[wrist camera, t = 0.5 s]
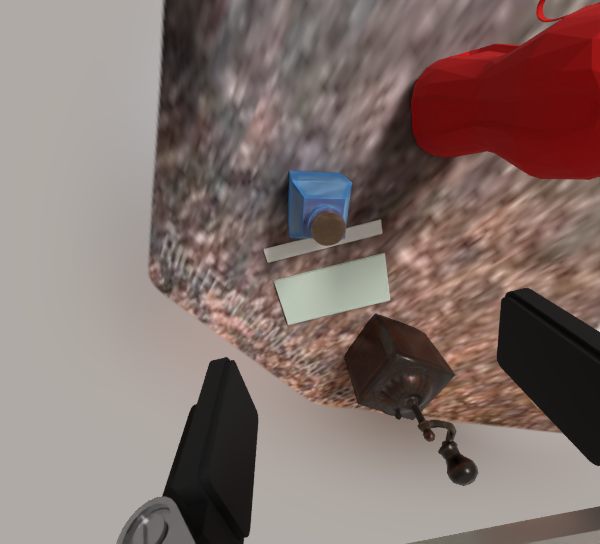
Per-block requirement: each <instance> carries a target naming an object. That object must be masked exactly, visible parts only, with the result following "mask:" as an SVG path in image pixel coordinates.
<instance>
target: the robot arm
mask: <svg viewBox="0 0 600 544" xmlns="http://www.w3.org/2000/svg"><path fill="white" fill-rule="evenodd" d="M497 361H498V363H499V365H500V367H501V368H502V369H503V370H504V371H505V372H506V373H507V374H508V375H509V376H510V377H511V379H512V380H513V381H514V382H515V383H516V384H517V385H518V386H519V387H520V388H521V389H522V390H523V391H524V392H525V393H526V394H527V395H528V397H529V398H530V399H531V400H532V401H533V402H534V403H535V404H536V405H537V406H538V407H539V408H540V409H541V410H542V411H543V412H544V413H545V415H546V416H547V417H548V418H549V419H550V420H551V421H552V422H553V423H554V424H555V425H556V426H557V427H558V428H559V429H560V430H561V431H562V432H563V434H564V435H565V436H566V437H567V438H568V439H569V440H570V441H571V442H572V443H573V444H574V445H575V446H576V447H577V448H578V449H579V450H580V452H581V453H582V454H583V455H584V456H585V457H586V458H587V459H588V460H589V461H590V462H592V463H593V464H595V465H597V466H600V332H599V331H597V330H596V329H594V328H592V327H591V326H589V325H587V324H586V323H584V322H583V321H581V320H579V319H578V318H576V317H575V316H573V315H571V314H570V313H568V312H567V311H565V310H563V309H562V308H560V307H559V306H557V305H555V304H554V303H552V302H550V301H549V300H547V299H546V298H544V297H542V296H541V295H539V294H538V293H536V292H534V291H533V290H531V289H529V288H523V289H519V290H515V291H510V292H508V293H506V295H505V297H504V298H503V299H502V301H501V311H500V323H499V336H498V348H497ZM257 430H258V413H257V410H256V408H255V405H254V403H253V401H252V399H251V397H250V395H249V392H248V390H247V387H246V386H245V383H244V381H243V379H242V376H241V374H240V372H239V370H238V367H237V365H236V363H235V361H234V360H231V361H230V360H229V359H228V358H227V357H226V358H222V359H217V360H213V361H211V362H210V363H209V366H208V370H207V373H206V376H205V380H204V383H203V386H202V390H201V393H200V396H199V399H198V402H197V404H196V405H194V406H193V407H192V408H191V410H190V412H189V416H188V419H187V422H186V425H185V428H184V431H183V434H182V437H181V440H180V443H179V446H178V450H177V452H176V456H175V459H174V462H173V465H172V468H171V471H170V474H169V477H168V480H167V484H166V486H165V490H164V493H163V496H162V497H157V498H154V499H152V500H150V501H148V502H146V503H145V504H144V505H142V506H141V507H140V508H138V510H137V511H136V512H135V513H134V514H133V515H132V516H131V517H130V518H129V520H128V521H127V523H126V524H125V526H124V527H123V529H122V532H121V534H120V536H119V538H118V540H117V544H243V542H244V538H245V537H248V536H249V532H250V524H251V511H252V498H253V485H254V471H255V457H256V445H257V432H258V431H257ZM409 544H600V507H594V508H589V509H584V510H579V511H573V512H568V513H562V514H557V515H552V516H547V517H542V518H536V519H531V520H526V521H521V522H516V523H511V524H505V525H500V526H495V527H490V528H485V529H480V530H474V531H469V532H465V533H459V534H454V535H449V536H444V537H439V538H434V539H429V540H424V541H418V542H413V543H409Z"/></svg>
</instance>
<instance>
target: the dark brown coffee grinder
mask: <svg viewBox="0 0 600 544" xmlns="http://www.w3.org/2000/svg"><path fill="white" fill-rule="evenodd" d="M344 360H345V361H346V364H347V368H348V371H349V375H350V378H351V382H352V385H353V389H354V392H355V396H356V399H357V402H358V404H360V405H363V406H366V407H369V408H373V409H376V410H379V411H382V412H384V413H385V414H388V415H392V416H395V417H396V418H397V419H401V417H404V418H407V419H411V420H413V419H414V418H415V417H416V418H417V420H418V422H419V425H418V428H419V429H420V430H421V431H422V432H423V436H424V438H425V439H426V440H427V441H429V442H430V441H433V440H434V439H435V434H434V433H433V432H432V431H431V428H436V427H441V428H446V429H448V431H447V436H446V441H443V442H442V447H441V448H440V449H439V451H438V452H439V454H441V455H442V456H443V457H444V458H445V459H446V464H447V474H448V476H449V478H450V479H451V480H452V481H453V482H454V483H456V484H459V485H462V486H465V485H469V484H471V483H472V482H474V481H475V479H476V476H477V474H478V470H477V466H476V465H475V463H474V462H473V461H472V460H470V459H468V458H466V457H464V456H463V455H461V454H460V452H459V450H458V448H457V444H456V443H455V442H454V441H453V439H454V437H455V434H456V429H455V427H454V425H453V424H452V423H449V422H445V421H440V420H430V421H426V420H425V418H424V416H423V415H422V413H421V412H422V410H423V409H424V408H425V407H426V406H427V405H428V404H429V403H430V402H431V401H432V400H433V399H434V398H435V397H436V396H437V395H438V394H439V393H440V391H441V390H442V389H443V388H444V387H445V386H446V385H447V384H448V382H449V381H450V380H451V379H452V378H453V377H454V375H455V374H454V372H453V371H452V369H451V368H450V367H449V365H448V364H447V362H446V361H445V360H444V358H443V357H442V356H441V354H440V353H439V351H438V350H437V349H436V347H435V346H434V345H433V343H432V342H431V341H430V340H429V338H428V337H427V335H426V334H425V333H423V332H422V331H420V330H418V329H416V328H414V327H411V326H409V325H406V324H404V323H401V322H399V321H396V320H393V319H390V318H387V317H384V316H381V315H378V314H375V315H374V316H373V317H372V318H371V320H370V321H369V322H368V323H367V325H366V326H365V327H364V329H363V330H362V332H361V333H360V334H359V336H358V337H357V339H356V340H355V341H354V343H353V344H352V346H351V347H350V348H349V350H348V351H347V353H346V355H345V359H344Z"/></svg>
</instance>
